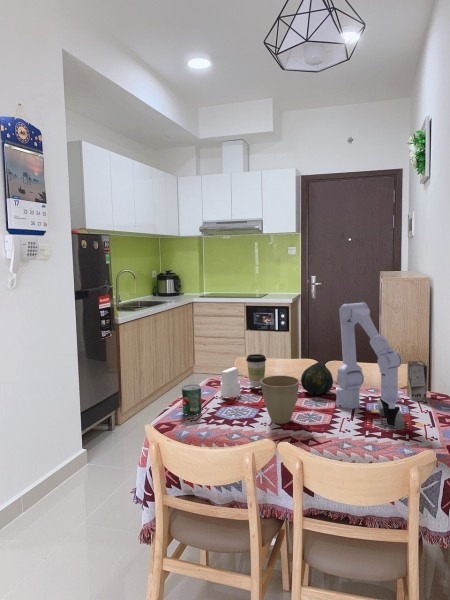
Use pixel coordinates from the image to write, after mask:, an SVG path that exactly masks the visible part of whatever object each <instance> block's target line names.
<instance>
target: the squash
mask: <svg viewBox="0 0 450 600" xmlns="http://www.w3.org/2000/svg"><path fill="white" fill-rule="evenodd" d="M300 384H301V387H302V388H303V390H305V392H306V393H307V394H308V395H311V396H313V395H317V396H319V395H321V394H327V393H328V392H330V390H331V389H332V388H333V384H334V380H333V375H332V373H331V371H330V369H329V368H328V367H327V366H326V365H325V363H324V362H323V361H318V362H315V363H314V364H311V365H310V366H309V367H307V368H306V369H305V370H304V371H303V372H302V374H301V377H300Z"/></svg>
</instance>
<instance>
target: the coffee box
mask: <svg viewBox="0 0 450 600" xmlns="http://www.w3.org/2000/svg"><path fill="white" fill-rule="evenodd" d="M406 363H407V365H406V366H407V368H406V369H407V370H406V375H407V377H406V380H407V381H406V385H407V386H406V391H407V392H406V396H407V397H408V398H409V400H410V401H419V402H423V401H425V402H426V401H427V392H428V391H427V384H428V382H427V381H428V380H427V379H428V365H426V363H424V362H423V361H422V360H413V361H411V360H409V361H408V360H407V362H406Z"/></svg>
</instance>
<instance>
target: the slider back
mask: <svg viewBox="0 0 450 600" xmlns="http://www.w3.org/2000/svg"><path fill="white" fill-rule="evenodd" d="M376 402H377V405H376V406H377V407H376V408H377V412H378V414H379V417H385V415H384V410H383V407H382V406H383V405H382V402H381V401H380V399H378V400H377V401H376Z"/></svg>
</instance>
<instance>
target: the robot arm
mask: <svg viewBox="0 0 450 600" xmlns="http://www.w3.org/2000/svg"><path fill="white" fill-rule="evenodd" d="M338 313H339V324H340V334H341V335H340V337H341V352H342V364H341V365H340V366H339V367H338V369H337V375H336V382H337V384H338V386H336V388H335V389H336V400H335V405H336V408H338V409H339V408H344V409H352V410H353V409H357V408H360V402H361V401H360V398H361V397H360V389H361V387H362V385H363V384H364V381H365V376H364V373H363V368H362V367H361V366H360V365H359V364H358V362H357V350H356V348H357V347H356V332H355V326H356V324H359V325H360V326H361V327H362V329H363V330H364V331H365V333H366V334H367V336H368V337H369V339H370V340H369V345H370V346H371V348H372V350H373V351H374V353H375V355H376V356H377V360H376V361H377V362H376V363H377V365H378V368H379V372H380V378H381V379H380V397H379V400H380V401H381V402H382V405H383V406H382V407H383V410H384V415H385V416H384V418H386V424H387V426H392V427H393V426H394V427H395V425H394V423H395V419H396V415H397V413H398V411H400V407H399V406H396V403H397V402H398V401H401V400H402V396H401V395H400V396H399V394H398V393H399V390H398V388H399V383H398V381H399V378H398V377H399V370H398V369H399V367H401V365H402V362H403V361H402V357H401V355H400V353H399V352H398V351H395V349H392V347H391V346H390V344H389V343H388V341H387V338H386V337H385V336H384V335H382V334H379V331H378V330H377V328H376V326H375V324H374V322H373V320H372V318H371V316H370V314H371V310H370V308H369V306H368V304H367V303H366V302H365V301H361V302H355V303H343V304H342V305H341V306H340V307H339V312H338Z"/></svg>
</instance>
